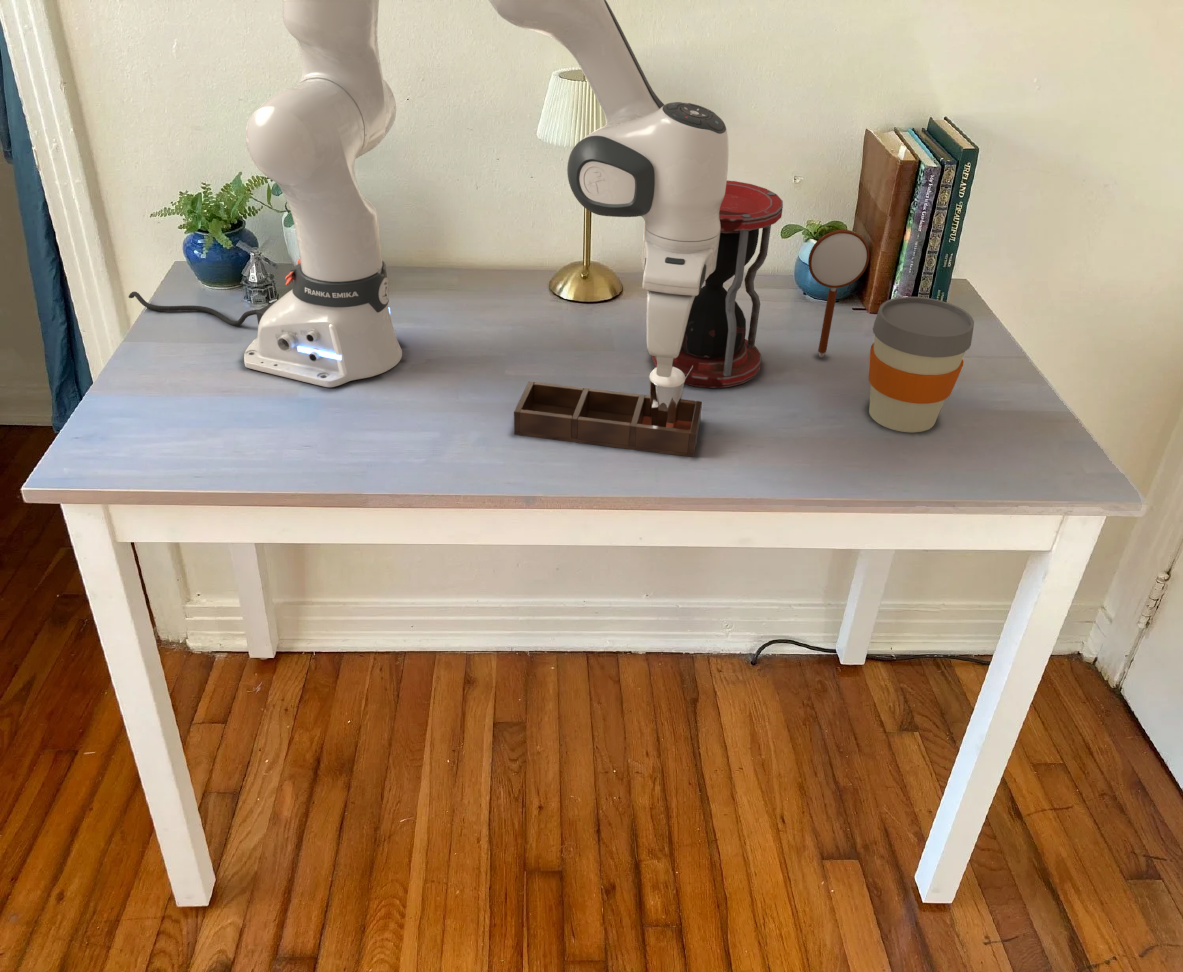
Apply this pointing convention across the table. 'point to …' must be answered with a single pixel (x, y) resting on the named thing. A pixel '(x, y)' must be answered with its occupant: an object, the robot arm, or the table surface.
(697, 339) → the hourglass
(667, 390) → the milkshake
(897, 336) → the reusable coffee cup
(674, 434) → the compartment tray
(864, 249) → the magnifying glass
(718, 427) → the table surface
